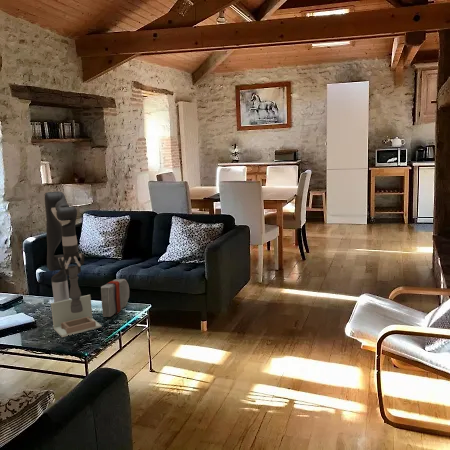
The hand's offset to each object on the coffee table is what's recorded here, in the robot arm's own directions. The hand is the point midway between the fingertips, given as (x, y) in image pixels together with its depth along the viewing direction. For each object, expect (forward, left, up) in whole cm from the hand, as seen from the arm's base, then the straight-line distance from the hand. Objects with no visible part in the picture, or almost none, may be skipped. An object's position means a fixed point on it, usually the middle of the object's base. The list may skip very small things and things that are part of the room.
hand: (73, 274), depth 276 cm
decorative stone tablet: (-13, +28, -32) cm, 44 cm away
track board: (-2, 0, -32) cm, 32 cm away
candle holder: (0, 0, -21) cm, 21 cm away
